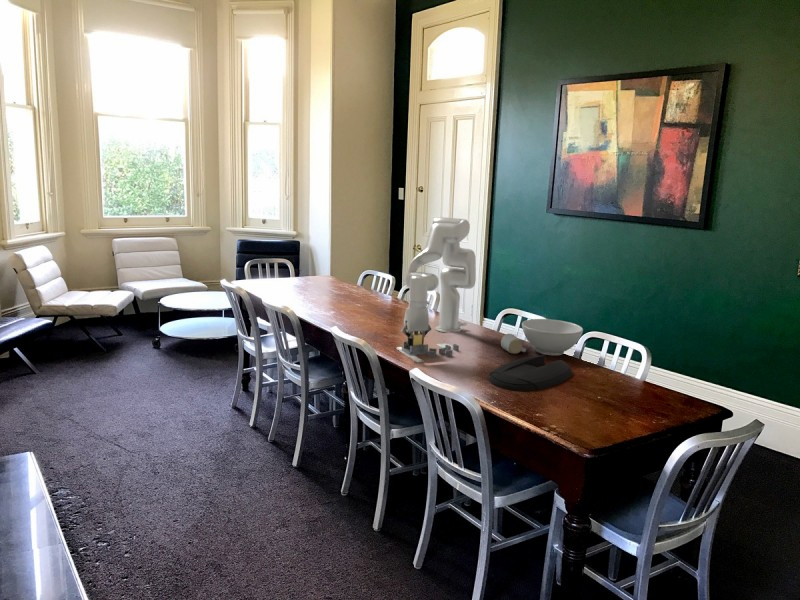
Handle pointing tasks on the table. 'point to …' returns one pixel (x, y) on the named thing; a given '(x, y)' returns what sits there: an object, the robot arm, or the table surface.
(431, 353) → the board
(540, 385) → the folded dark cloth
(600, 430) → the table surface
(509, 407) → the table surface
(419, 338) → the connector
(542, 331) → the decorative bowl
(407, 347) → the end holder
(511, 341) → the ceramic mug
